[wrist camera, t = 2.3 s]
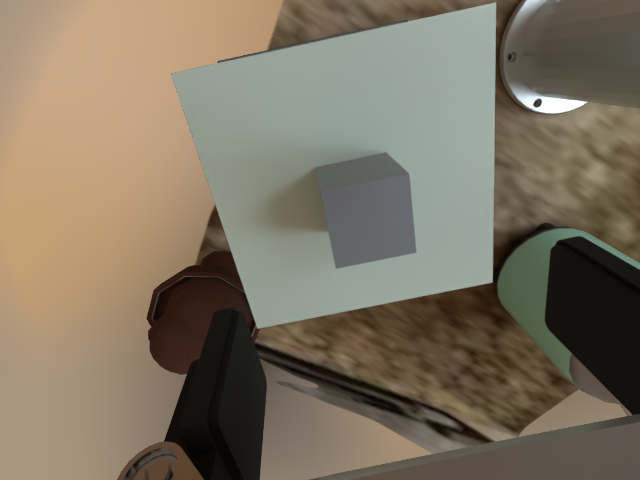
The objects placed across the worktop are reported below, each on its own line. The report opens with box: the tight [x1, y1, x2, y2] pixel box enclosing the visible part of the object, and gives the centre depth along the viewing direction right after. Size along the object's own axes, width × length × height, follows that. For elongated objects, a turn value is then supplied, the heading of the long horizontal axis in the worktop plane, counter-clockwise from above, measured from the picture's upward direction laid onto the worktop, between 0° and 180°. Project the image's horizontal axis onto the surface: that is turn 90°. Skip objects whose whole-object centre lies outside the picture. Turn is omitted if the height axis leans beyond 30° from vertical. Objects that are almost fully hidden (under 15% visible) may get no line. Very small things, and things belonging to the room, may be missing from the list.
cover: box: [171, 3, 496, 329], centre depth 27 cm, size 16×16×23 cm
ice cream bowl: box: [147, 251, 260, 375], centre depth 38 cm, size 11×11×15 cm
